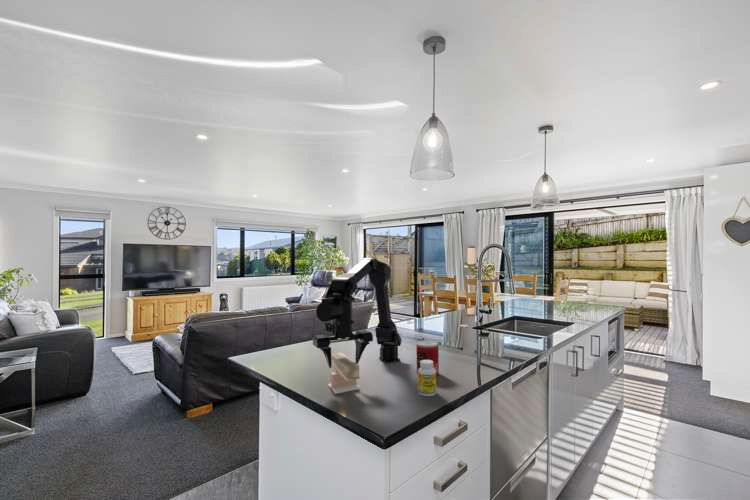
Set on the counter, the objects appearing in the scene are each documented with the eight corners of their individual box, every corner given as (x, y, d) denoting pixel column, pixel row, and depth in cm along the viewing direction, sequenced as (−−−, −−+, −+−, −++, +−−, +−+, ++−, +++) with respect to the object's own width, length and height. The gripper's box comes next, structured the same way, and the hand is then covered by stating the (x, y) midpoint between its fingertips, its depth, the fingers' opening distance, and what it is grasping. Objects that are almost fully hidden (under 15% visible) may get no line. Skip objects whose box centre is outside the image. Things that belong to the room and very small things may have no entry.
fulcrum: (351, 381, 112) (351, 366, 113) (359, 389, 106) (359, 373, 106) (328, 386, 109) (328, 370, 109) (335, 393, 103) (335, 377, 103)
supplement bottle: (432, 389, 106) (431, 358, 106) (439, 395, 100) (438, 363, 101) (415, 390, 104) (415, 359, 105) (422, 397, 99) (421, 364, 99)
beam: (340, 363, 116) (340, 352, 116) (359, 378, 101) (359, 365, 101) (329, 365, 114) (329, 353, 114) (346, 380, 100) (346, 367, 100)
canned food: (440, 371, 122) (439, 340, 122) (436, 379, 114) (436, 346, 115) (419, 369, 124) (418, 339, 125) (414, 376, 117) (414, 344, 117)
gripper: (359, 310, 119) (360, 355, 119) (308, 315, 111) (308, 362, 111) (373, 315, 109) (374, 363, 109) (317, 320, 101) (318, 373, 101)
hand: (343, 365), depth 108 cm, fingers open, 9 cm apart
